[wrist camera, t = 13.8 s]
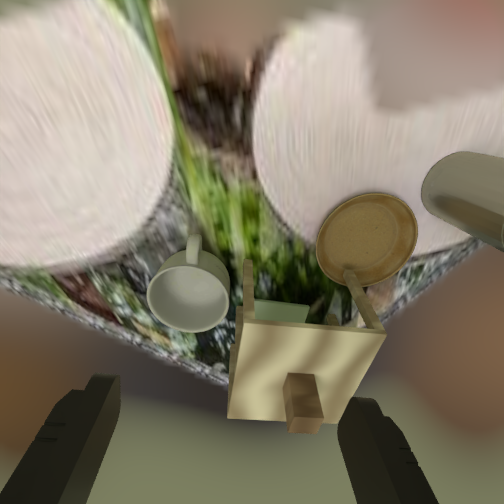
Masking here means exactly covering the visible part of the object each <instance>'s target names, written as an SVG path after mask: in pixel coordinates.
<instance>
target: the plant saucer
mask: <svg viewBox="0 0 504 504" xmlns="http://www.w3.org/2000/svg"><path fill="white" fill-rule="evenodd" d="M417 237H418V226H417V221H416V218H415V216H414V214H413V212H412V210H411V209H410V208H409V206H408V205H407V204H406V203H405V202H403V201H402V200H400V199H398V198H396V197H394V196H391V195H388V194H382V193H372V194H365V195H361V196H357V197H355V198H352V199H350V200H348V201H346V202H345V203H343V204H342V205H340V206H339V207H337V208H336V209H335V210H334V211H333V212H332V213H331V214H330V215H329V216H328V218H327V219H326V220H325V222H324V223H323V225H322V227H321V229H320V231H319V234H318V237H317V241H316V257H317V261H318V264H319V266H320V268H321V269H322V271H323V272H324V274H325V275H326V276H327V277H329V278H330V279H331V280H333V281H334V282H336V283H338V284H341V285H344V286H347V284H346V282H345V280H344V277H343V274H344V271H345V269H346V270H353V271H354V273H355V275H356V277H357V279H358V281H359V283H360V285H361V287H366V286H371V285H374V284H377V283H380V282H382V281H384V280H386V279H388V278H390V277H391V276H393V275H394V274H395V273H397V272H398V271H399V270H400V269H401V268H402V267H403V266H404V265H405V263H406V262H407V261H408V259H409V258H410V256H411V255H412V253H413V251H414V248H415V246H416V242H417Z"/></svg>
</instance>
